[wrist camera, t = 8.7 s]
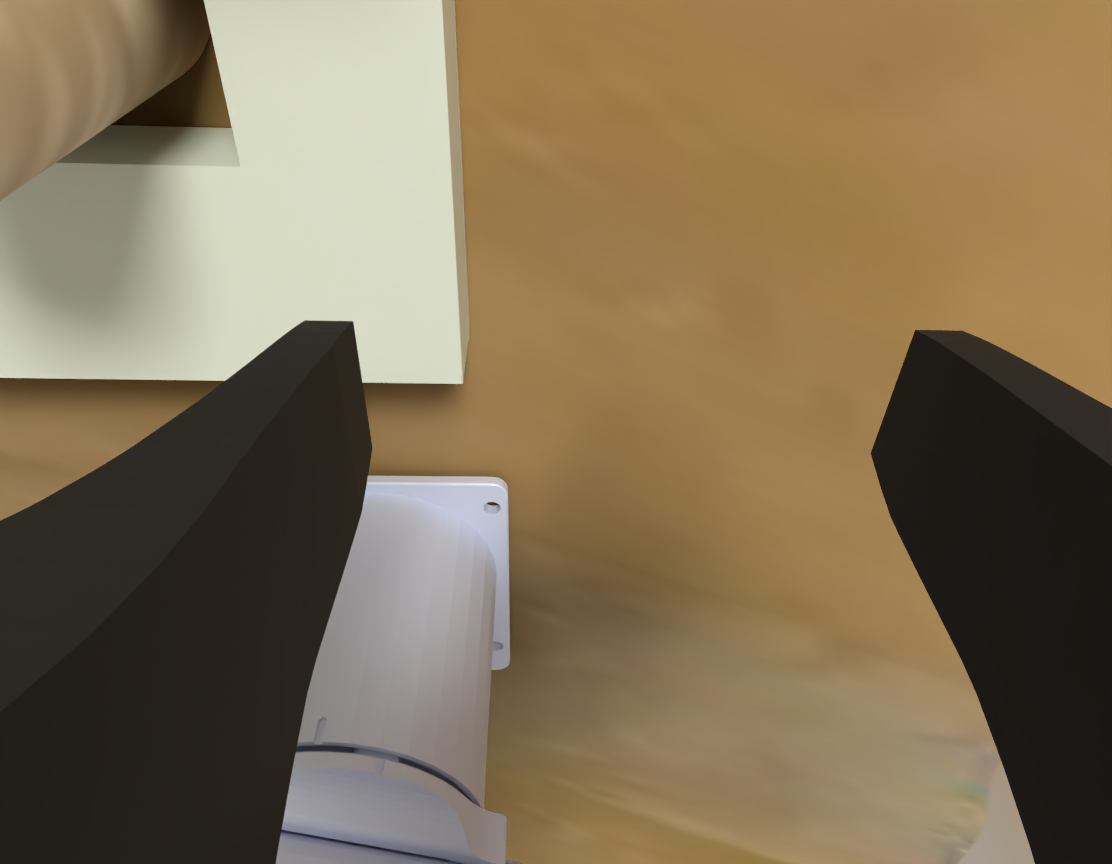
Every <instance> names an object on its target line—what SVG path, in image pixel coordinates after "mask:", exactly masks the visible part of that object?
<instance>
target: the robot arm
mask: <svg viewBox="0 0 1112 864" xmlns="http://www.w3.org/2000/svg"><path fill="white" fill-rule="evenodd" d="M371 453H372V443H371V436H370V430H369V423H368V416H367V410H366V403H365V397H364V390H363V383H362V377H361V370H360V363H359V357H358V350H357V343H356V337H355V330H354V323H353V321H310V320H305V321H303V322H302V323H300V324H298V325H297V326H295V327H294V328H293V329H291V330H290V331H289V332H287V333H286V334H285V335H283V336H282V337H281V338H279V339H278V340H277V341H276V342H274V343H273V344H272V345H270V346H269V347H268V348H267V349H265V350H264V351H263V352H262V353H260V354H259V355H258V356H257V357H255V358H254V359H253V360H251V361H250V362H249V363H248V364H246V365H245V366H244V367H242V368H241V369H240V370H239V371H237V372H236V373H235V374H233V375H232V376H231V377H229V378H228V379H227V380H226V381H224V382H223V383H222V384H220V385H219V386H218V387H216V388H215V389H214V390H213V391H211V392H210V393H209V394H207V395H206V396H205V397H203V398H202V399H201V400H199V401H198V402H197V403H195V404H194V405H192V406H191V407H189V408H188V409H186V410H185V411H184V412H182V413H181V414H179V415H178V416H176V417H175V418H173V419H172V420H171V421H169V422H168V423H166V424H165V425H163V426H162V427H160V428H159V429H158V430H156V431H155V432H153V433H152V434H150V435H149V436H147V437H146V438H145V439H143V440H142V441H140V442H139V443H137V444H136V445H134V446H133V447H131V448H130V449H128V450H127V451H125V452H124V453H122V454H120V455H119V456H117V457H116V458H114V459H112V460H111V461H109V462H107V463H106V464H104V465H102V466H101V467H99V468H98V469H96V470H94V471H93V472H91V473H89V474H87V475H86V476H84V477H82V478H80V479H79V480H77V481H75V482H73V483H71V484H70V485H68V486H66V487H64V488H63V489H61V490H59V491H57V492H56V493H54V494H52V495H50V496H49V497H47V498H45V499H43V500H41V501H39V502H37V503H35V504H34V505H32V506H30V507H28V508H26V509H24V510H22V511H20V512H18V513H16V514H14V515H12V516H10V517H8V518H5V519H3V520H1V521H0V864H521V863H520V862H515V861H510V860H506V836H507V817H506V816H505V815H503V814H499V813H495V812H491V811H489V810H486V809H484V798H485V780H486V761H487V743H488V725H489V706H490V688H491V670H501V669H504V668H506V667H507V666H508V665H509V663H510V595H509V511H508V486H507V484H506V483H505V482H504V481H503V480H502V479H500V478H497V477H466V476H368V472H369V466H370V459H371ZM871 455H872V459H873V462H874V466H875V469H876V472H877V476H878V479H879V483H880V486H881V489H882V492H883V495H884V498H885V501H886V504H887V507H888V510H889V513H890V516H891V518H892V521H893V523H894V525H895V527H896V529H897V531H898V533H899V535H900V537H901V539H902V542H903V544H904V546H905V548H906V550H907V552H908V554H909V556H910V558H911V560H912V562H913V564H914V566H915V568H916V570H917V572H918V574H919V576H920V578H921V580H922V582H923V584H924V586H925V588H926V590H927V592H928V594H929V596H930V598H931V600H932V602H933V604H934V606H935V608H936V610H937V612H938V614H939V616H940V618H941V620H942V622H943V624H944V626H945V628H946V630H947V632H948V634H949V636H950V638H951V640H952V642H953V644H954V646H955V648H956V650H957V652H958V654H959V656H960V658H961V660H962V662H963V664H964V666H965V669H966V671H967V673H968V675H969V678H970V680H971V682H972V684H973V687H974V689H975V691H976V693H977V696H978V699H979V701H980V704H981V707H982V709H983V712H984V715H985V718H986V720H987V723H988V726H989V728H990V731H991V734H992V737H993V739H994V742H995V745H996V747H997V750H998V753H999V756H1000V758H1001V761H1002V764H1003V766H1004V769H1005V772H1006V775H1007V778H1008V781H1009V784H1010V787H1011V790H1012V793H1013V796H1014V799H1015V802H1016V806H1017V809H1018V811H1019V815H1020V818H1021V820H1022V824H1023V827H1024V830H1025V833H1026V835H1027V838H1028V841H1029V845H1030V848H1031V851H1032V855H1033V858H1034V862H1035V864H1112V408H1110V407H1108V406H1106V405H1105V404H1103V403H1101V402H1099V401H1097V400H1095V399H1094V398H1092V397H1090V396H1088V395H1086V394H1084V393H1083V392H1081V391H1079V390H1077V389H1075V388H1074V387H1072V386H1070V385H1068V384H1066V383H1065V382H1063V381H1061V380H1059V379H1057V378H1055V377H1054V376H1052V375H1050V374H1048V373H1046V372H1045V371H1043V370H1041V369H1039V368H1037V367H1035V366H1034V365H1032V364H1030V363H1028V362H1026V361H1024V360H1023V359H1021V358H1019V357H1017V356H1015V355H1013V354H1011V353H1009V352H1007V351H1005V350H1003V349H1002V348H1000V347H998V346H996V345H993V344H991V343H989V342H987V341H985V340H983V339H981V338H978V337H976V336H974V335H971V334H969V333H966V332H964V331H938V330H915V332H914V335H913V338H912V341H911V343H910V346H909V349H908V352H907V355H906V357H905V360H904V363H903V366H902V368H901V371H900V374H899V377H898V379H897V382H896V385H895V388H894V390H893V393H892V396H891V399H890V402H889V404H888V407H887V410H886V413H885V415H884V418H883V421H882V424H881V426H880V429H879V432H878V435H877V438H876V440H875V443H874V446H873V449H872V451H871ZM488 502H495V503H497V504H498V505H494V506H492V505H488V504H487V503H488Z"/></svg>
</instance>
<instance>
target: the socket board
mask: <svg viewBox="0 0 1112 864" xmlns="http://www.w3.org/2000/svg"><path fill="white" fill-rule="evenodd" d="M204 4H205V8H206V13H207V18H208V22H209V27H210V31H211V36H212V40H213V45H214V49H215V54H216V58H217V63H218V67H219V72H220V76H221V81H222V85H223V90H224V94H225V99H226V103H227V108H228V112H229V117H230V121H231V126H232V128H210V127H168V126H126V125H109V126H108V127H107V128H105V129H104V130H102V131H101V132H99V133H98V134H96V135H95V136H94V137H92V138H91V139H89V140H88V141H86V142H85V143H83V144H82V145H81V146H79V147H78V148H76V149H75V150H73V151H72V152H70V153H69V154H68V155H66V156H65V157H63V158H62V159H60V160H59V161H57V162H56V163H55V164H53V165H52V166H50V167H49V168H47V169H46V170H44V171H43V172H42V173H40V174H39V175H37V176H36V177H34V178H33V179H31V180H30V181H29V182H27V183H26V184H24V185H23V186H21V187H20V188H18V189H17V190H16V191H14V192H13V193H11V194H10V195H8V196H7V197H5V198H4V199H3V200H1V201H0V378H54V379H129V380H204V381H226V380H227V379H228V378H229V377H231V376H232V375H233V374H235V373H236V372H237V371H239V370H240V369H241V368H242V367H244V366H245V365H246V364H248V363H249V362H250V361H251V360H253V359H254V358H255V357H257V356H258V355H259V354H260V353H262V352H263V351H264V350H265V349H267V348H268V347H269V346H270V345H272V344H273V343H274V342H276V341H277V340H278V339H279V338H281V337H282V336H283V335H285V334H286V333H287V332H289V331H290V330H291V329H293V328H294V327H295V326H297V325H298V324H300V323H302V322H303V321H305V320H310V321H353V323H354V330H355V337H356V343H357V350H358V357H359V363H360V370H361V377H362V383H430V384H463V379H464V371H465V364H466V356H467V349H468V342H469V334H470V325H469V303H468V281H467V259H466V237H465V215H464V193H463V171H462V149H461V127H460V105H459V83H458V61H457V39H456V16H455V0H204Z"/></svg>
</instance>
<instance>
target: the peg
mask: <svg viewBox="0 0 1112 864" xmlns="http://www.w3.org/2000/svg"><path fill="white" fill-rule="evenodd" d="M209 35H210V27H209V22H208V18H207V13H206V8H205V4H204V0H0V201H1V200H3V199H4V198H5V197H7V196H8V195H10V194H11V193H13V192H14V191H16V190H17V189H18V188H20V187H21V186H23V185H24V184H26V183H27V182H29V181H30V180H31V179H33V178H34V177H36V176H37V175H39V174H40V173H42V172H43V171H44V170H46V169H47V168H49V167H50V166H52V165H53V164H55V163H56V162H57V161H59V160H60V159H62V158H63V157H65V156H66V155H68V154H69V153H70V152H72V151H73V150H75V149H76V148H78V147H79V146H81V145H82V144H83V143H85V142H86V141H88V140H89V139H91V138H92V137H94V136H95V135H96V134H98V133H99V132H101V131H102V130H104V129H105V128H107V127H108V126H109V125H111V124H112V123H114V122H115V121H117V120H118V119H120V118H121V117H122V116H124V115H125V114H127V113H128V112H130V111H131V110H133V109H134V108H135V107H137V106H138V105H140V104H141V103H143V102H144V101H146V100H147V99H148V98H150V97H151V96H153V95H154V94H156V93H157V92H159V91H160V90H161V89H163V88H164V87H166V86H167V85H169V84H170V83H172V82H173V81H174V80H176V79H177V78H179V77H180V76H182V75H183V74H184V73H185V72H187V71H188V70H189V69H190V68H191V67H192V66H193V65H194V64H195V63H196V62H197V60H198V59H199V58H200V56H201V54H202V53H203V51H204V49H205V46H206V44H207V41H208V39H209Z"/></svg>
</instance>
